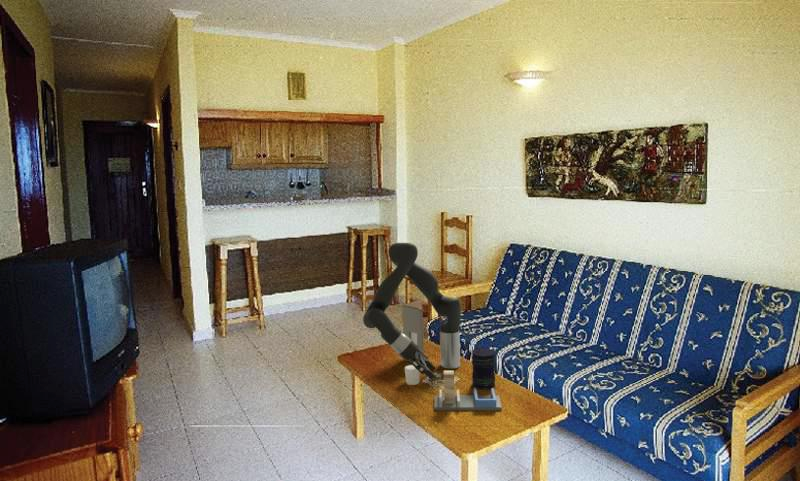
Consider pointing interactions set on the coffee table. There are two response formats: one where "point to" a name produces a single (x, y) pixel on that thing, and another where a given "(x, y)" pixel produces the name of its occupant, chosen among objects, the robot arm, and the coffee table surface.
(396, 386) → the coffee table surface
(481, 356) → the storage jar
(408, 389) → the coffee table surface
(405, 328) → the cabinet
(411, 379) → the beige cylinder
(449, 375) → the peg
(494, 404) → the grey slotted base
